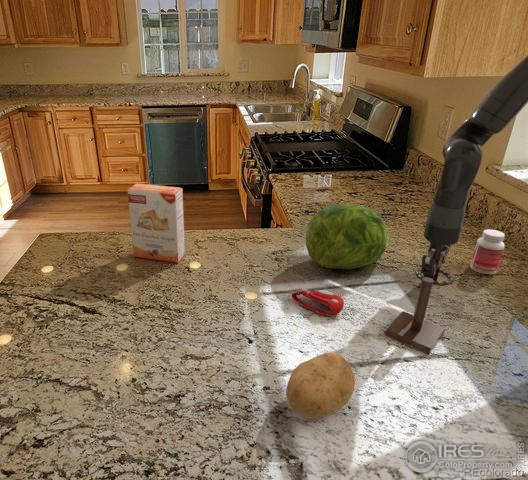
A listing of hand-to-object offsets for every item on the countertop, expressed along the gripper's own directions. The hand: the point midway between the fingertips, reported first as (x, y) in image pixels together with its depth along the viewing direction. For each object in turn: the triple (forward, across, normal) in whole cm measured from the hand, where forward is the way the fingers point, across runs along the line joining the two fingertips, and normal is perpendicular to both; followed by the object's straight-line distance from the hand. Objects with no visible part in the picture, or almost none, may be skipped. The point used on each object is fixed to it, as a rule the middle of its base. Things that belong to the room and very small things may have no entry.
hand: (429, 283), depth 108 cm
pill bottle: (0, +17, -8) cm, 19 cm away
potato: (0, -54, 0) cm, 54 cm away
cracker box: (0, -37, +62) cm, 72 cm away
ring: (0, +4, 0) cm, 4 cm away
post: (0, -23, -5) cm, 24 cm away
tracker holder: (0, -27, +16) cm, 32 cm away
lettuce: (0, -4, +21) cm, 21 cm away
